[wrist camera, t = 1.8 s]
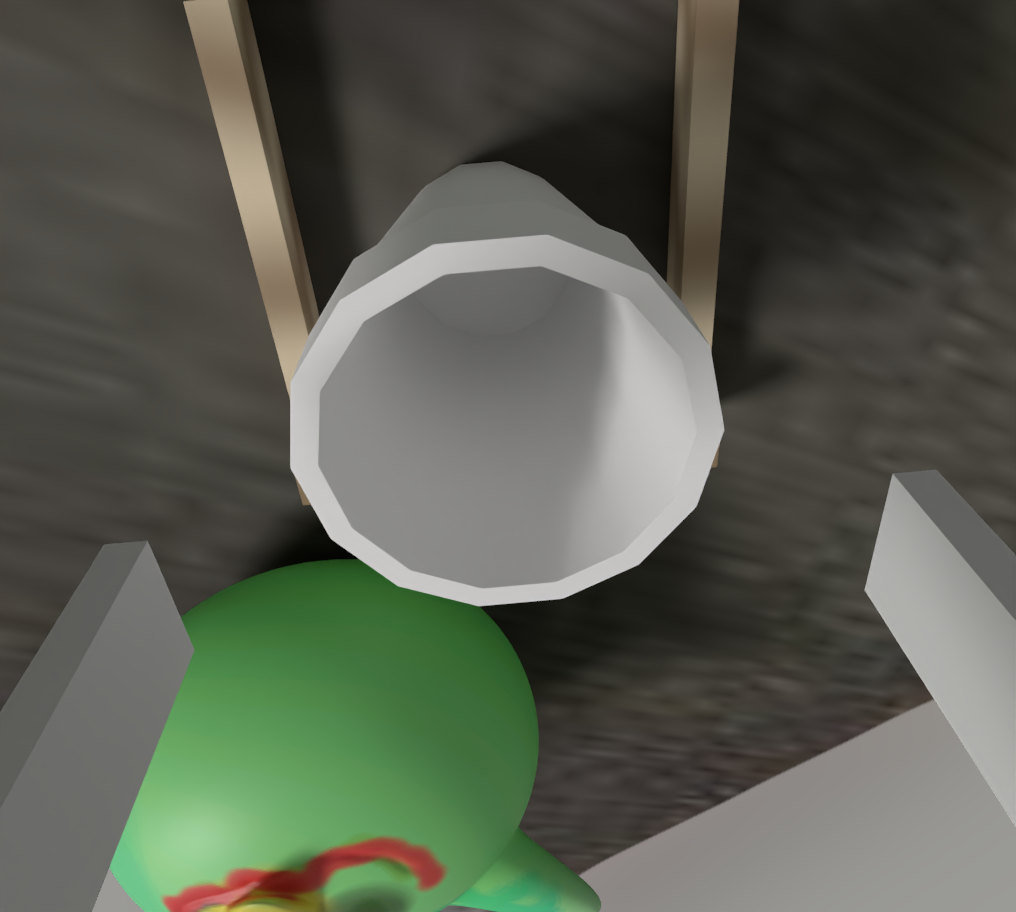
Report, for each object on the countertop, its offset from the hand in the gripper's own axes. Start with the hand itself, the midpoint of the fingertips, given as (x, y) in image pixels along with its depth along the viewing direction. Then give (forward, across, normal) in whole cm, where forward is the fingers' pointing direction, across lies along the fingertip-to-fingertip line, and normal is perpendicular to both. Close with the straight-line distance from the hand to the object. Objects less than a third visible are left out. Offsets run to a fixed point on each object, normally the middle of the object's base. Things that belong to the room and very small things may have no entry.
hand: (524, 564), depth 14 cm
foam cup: (+17, 0, 0) cm, 17 cm away
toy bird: (+17, -9, -18) cm, 26 cm away
